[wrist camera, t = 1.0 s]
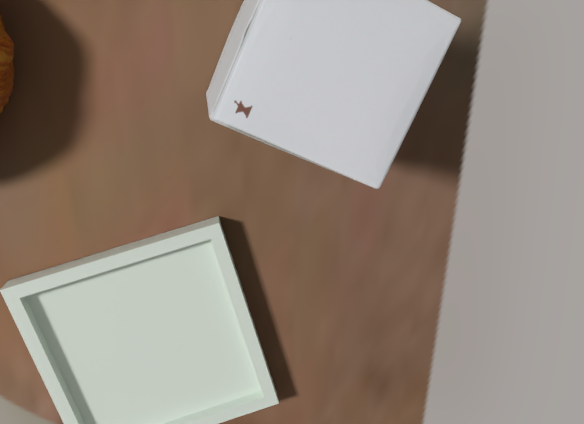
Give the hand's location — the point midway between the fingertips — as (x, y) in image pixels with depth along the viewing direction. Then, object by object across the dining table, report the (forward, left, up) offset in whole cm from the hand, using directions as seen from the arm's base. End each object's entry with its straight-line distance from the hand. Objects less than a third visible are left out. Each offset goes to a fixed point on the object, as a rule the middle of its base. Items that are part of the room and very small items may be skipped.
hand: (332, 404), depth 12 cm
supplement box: (-6, +4, -23) cm, 24 cm away
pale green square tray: (+8, -9, -23) cm, 26 cm away
